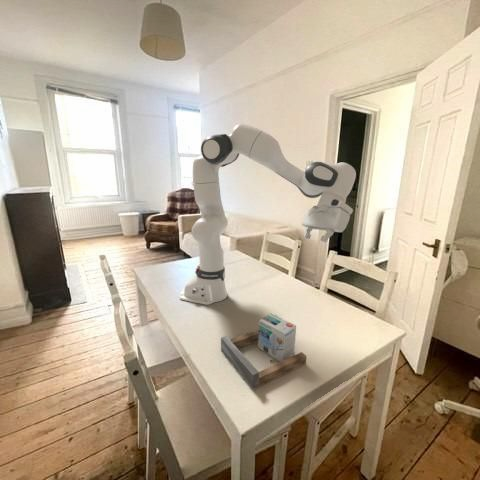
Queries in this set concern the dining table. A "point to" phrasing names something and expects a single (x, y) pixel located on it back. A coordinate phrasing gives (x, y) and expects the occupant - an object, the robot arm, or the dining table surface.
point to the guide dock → (247, 369)
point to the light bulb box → (277, 337)
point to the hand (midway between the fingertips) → (314, 239)
